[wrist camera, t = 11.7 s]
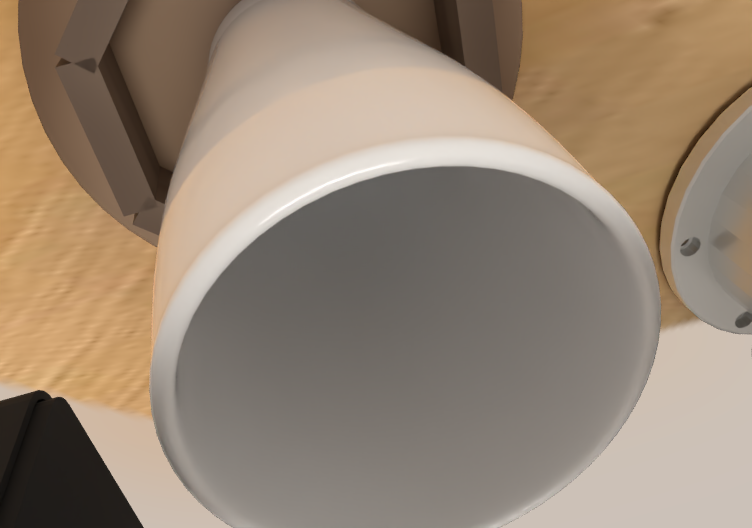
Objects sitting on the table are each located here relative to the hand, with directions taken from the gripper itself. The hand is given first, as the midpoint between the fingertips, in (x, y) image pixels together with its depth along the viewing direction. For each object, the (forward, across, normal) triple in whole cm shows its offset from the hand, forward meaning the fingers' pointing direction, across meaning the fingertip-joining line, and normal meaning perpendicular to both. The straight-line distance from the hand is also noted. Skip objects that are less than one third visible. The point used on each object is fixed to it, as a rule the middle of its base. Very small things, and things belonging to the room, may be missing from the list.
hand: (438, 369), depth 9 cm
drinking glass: (+15, +1, 0) cm, 15 cm away
